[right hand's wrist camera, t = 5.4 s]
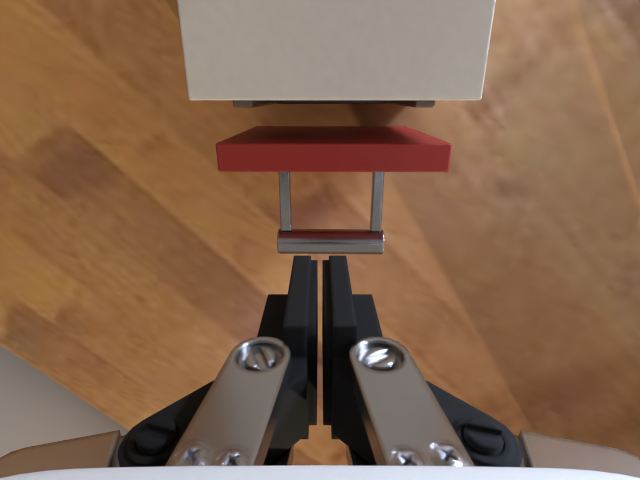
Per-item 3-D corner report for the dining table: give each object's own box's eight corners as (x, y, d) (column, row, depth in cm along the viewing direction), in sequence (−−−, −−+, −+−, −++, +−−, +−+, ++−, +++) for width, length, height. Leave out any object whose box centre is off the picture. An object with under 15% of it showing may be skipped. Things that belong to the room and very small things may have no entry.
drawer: (398, 230, 27) (433, 296, 18) (261, 229, 27) (229, 295, 18) (429, -154, 20) (515, -366, 11) (239, -152, 20) (166, -358, 11)
